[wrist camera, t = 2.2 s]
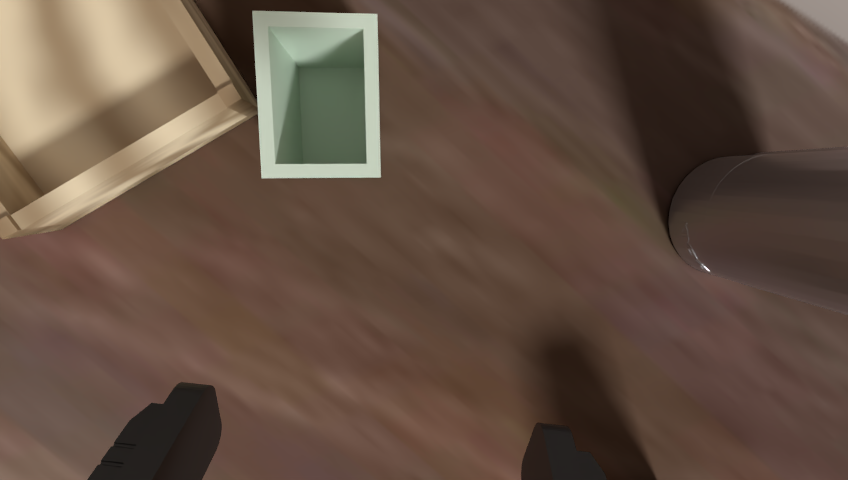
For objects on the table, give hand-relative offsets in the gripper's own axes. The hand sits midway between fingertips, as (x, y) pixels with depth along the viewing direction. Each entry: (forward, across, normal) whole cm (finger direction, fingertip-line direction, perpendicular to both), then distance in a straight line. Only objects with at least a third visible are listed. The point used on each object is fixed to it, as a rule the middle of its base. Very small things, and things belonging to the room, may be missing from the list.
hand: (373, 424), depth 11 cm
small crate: (+24, +6, 0) cm, 24 cm away
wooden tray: (+23, +23, -3) cm, 33 cm away
